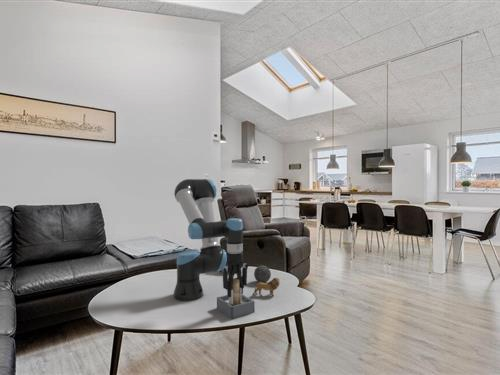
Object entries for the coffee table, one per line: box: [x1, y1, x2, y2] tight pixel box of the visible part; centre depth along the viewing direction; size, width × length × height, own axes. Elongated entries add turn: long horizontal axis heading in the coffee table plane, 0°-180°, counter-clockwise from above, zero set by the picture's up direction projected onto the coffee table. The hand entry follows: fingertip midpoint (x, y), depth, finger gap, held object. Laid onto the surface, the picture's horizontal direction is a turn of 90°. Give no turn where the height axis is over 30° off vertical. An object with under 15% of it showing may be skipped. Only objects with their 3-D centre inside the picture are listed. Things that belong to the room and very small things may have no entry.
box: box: [216, 293, 256, 320], centre depth 137 cm, size 14×12×5 cm
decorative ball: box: [253, 265, 272, 283], centre depth 176 cm, size 10×10×10 cm
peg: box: [231, 277, 240, 306], centre depth 137 cm, size 4×4×12 cm
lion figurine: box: [252, 277, 280, 298], centre depth 155 cm, size 15×5×9 cm, turn 97°
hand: (235, 302), depth 137 cm, fingers closed on peg, 4 cm apart
